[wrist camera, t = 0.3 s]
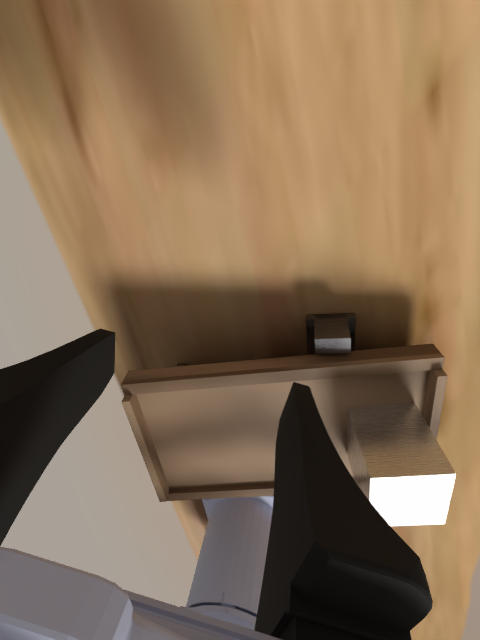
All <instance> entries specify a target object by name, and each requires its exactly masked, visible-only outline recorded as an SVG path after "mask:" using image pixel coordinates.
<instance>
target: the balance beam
mask: <svg viewBox="0 0 480 640" xmlns="http://www.w3.org/2000/svg"><path fill="white" fill-rule="evenodd" d="M443 362H444V356H443V355H442V354H441V353H440V352H439V350H438V349H437V348H436V347H435V346H434V344H424V345H413V346H402V347H390V348H379V349H368V350H357V351H351V353H323V354H312V355H301V356H290V357H279V358H268V359H256V360H245V361H234V362H223V363H212V364H200V365H189V366H178V367H167V368H156V369H145V370H133V371H128V373H127V375H126V377H125V379H124V380H123V382H122V384H121V386H122V389H123V392H124V394H125V396H124V398H123V400H122V404H123V407H124V410H125V412H126V415H127V417H128V420H129V423H130V425H131V428H132V430H133V433H134V436H135V438H136V441H137V443H138V446H139V449H140V451H141V454H142V456H143V459H144V461H145V464H146V467H147V469H148V472H149V475H150V477H151V480H152V482H153V485H154V488H155V490H156V493H157V495H158V498H159V500H160V502H163V501H175V500H196V499H216V498H237V497H257V496H274V473H275V449H276V438H277V432H278V426H279V420H280V417H281V414H282V411H283V409H284V406H285V403H286V401H287V398H288V395H289V392H290V390H291V387H292V384H293V382H296V383H299V384H303V385H307V386H309V387H310V389H311V392H312V395H313V397H314V400H315V403H316V406H317V408H318V411H319V414H320V416H321V418H322V421H323V423H324V425H325V428H326V430H327V432H328V434H329V436H330V438H331V440H332V442H333V444H334V446H335V448H336V450H337V452H338V454H339V456H340V458H341V459H342V461H343V463H344V465H345V466H346V468H347V469H348V471H349V473H350V474H351V476H352V477H353V479H354V476H353V472H352V469H351V465H350V462H349V458H348V455H347V408H351V407H365V406H379V405H392V404H406V403H415V404H416V406H417V408H418V409H419V411H420V413H421V414H422V416H423V418H424V420H425V421H426V423H427V425H428V426H429V428H430V430H431V432H432V433H433V435H434V437H435V438H436V439H437V434H438V428H439V422H440V416H441V411H442V405H443V399H444V393H445V387H446V382H447V375H446V373H445V372H444V371H443V369H442V368H443Z"/></svg>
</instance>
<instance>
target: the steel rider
mask: <svg viewBox="0 0 480 640" xmlns="http://www.w3.org/2000/svg"><path fill="white" fill-rule="evenodd" d="M347 455H348V458H349V462H350V465H351V469H352V472H353V476H354V480H355V482H356V483H357V485H358V486H359V487H360V489H361V490H362V492H363V493H364V494H365V496H366V497H367V498H368V500H369V501H370V502H371V504H372V505H373V506H374V508H375V509H376V510H377V511H378V512H379V514H380V515H381V516H382V517H383V518H384V520H385V521H386V522H387V523H388V524H389V526H410V525H436V524H445V522H446V517H447V513H448V508H449V504H450V499H451V495H452V490H453V486H454V481H455V477H456V473H455V471H454V469H453V468H452V466H451V464H450V462H449V461H448V459H447V457H446V456H445V454H444V452H443V450H442V449H441V447H440V445H439V444H438V442H437V440H436V438H435V437H434V435H433V433H432V432H431V430H430V428H429V426H428V425H427V423H426V421H425V420H424V418H423V416H422V414H421V413H420V411H419V409H418V408H417V406H416V404H415V403H406V404H392V405H379V406H365V407H351V408H347Z"/></svg>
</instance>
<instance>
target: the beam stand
mask: <svg viewBox="0 0 480 640" xmlns="http://www.w3.org/2000/svg"><path fill="white" fill-rule="evenodd" d="M306 325H307V343H308V355H312V354H323V353H351V351H355V313H341V314H317V315H306ZM178 366H186V364H178V365H177V367H178Z"/></svg>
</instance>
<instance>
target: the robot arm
mask: <svg viewBox="0 0 480 640" xmlns="http://www.w3.org/2000/svg"><path fill="white" fill-rule="evenodd" d="M114 362H115V332H111V331H107V330H104V329H99V330H96V331H94V332H91V333H89V334H87V335H85V336H83V337H81V338H78V339H76V340H75V341H72V342H70V343H67V344H65V345H63V346H61V347H59V348H56V349H54V350H52V351H49V352H47V353H44V354H42V355H39V356H37V357H34V358H32V359H30V360H27V361H24V362H21V363H18V364H15V365H12V366H9V367H7V368H3V369H0V546H1V543H2V542H3V540H4V538H5V536H6V535H7V533H8V531H9V529H10V527H11V525H12V524H13V522H14V520H15V518H16V517H17V515H18V513H19V511H20V510H21V508H22V506H23V505H24V503H25V501H26V499H27V498H28V496H29V494H30V493H31V491H32V489H33V488H34V486H35V484H36V483H37V481H38V480H39V478H40V477H41V475H42V473H43V472H44V470H45V468H46V467H47V465H48V464H49V462H50V461H51V459H52V457H53V456H54V455H55V453H56V452H57V450H58V449H59V447H60V446H61V444H62V443H63V442H64V440H65V439H66V438H67V436H68V435H69V434H70V433H71V431H72V430H73V429H74V427H75V426H76V425H77V424H78V423H79V422H80V420H81V419H82V418H83V417H84V415H85V414H86V413H87V411H88V410H89V409H90V408H91V407H92V405H93V404H94V403H95V402H96V400H97V399H98V398H99V396H100V395H101V394H102V392H103V391H104V389H105V388H106V386H107V384H108V383H109V381H110V379H111V377H112V376H113V374H114ZM202 501H203V504H204V508H205V511H206V515H207V518H208V524H207V527H206V531H205V535H204V539H203V543H202V547H201V551H200V555H199V559H198V562H197V566H196V570H195V574H194V578H193V582H192V586H191V590H190V594H189V598H188V601H187V605H186V607H182V606H181V607H177V606H174V605H171V604H168V603H165V602H161V601H158V600H155V599H152V598H149V597H145V596H142V595H139V594H136V593H133V592H130V591H127V590H123V589H122V588H120V587H119V586H118V585H117V584H115V583H114V582H111V581H109V580H107V579H105V578H102V577H100V576H98V575H95V574H92V573H88V572H85V571H82V570H79V569H76V568H72V567H69V566H66V565H63V564H60V563H57V562H53V561H50V560H47V559H44V558H40V557H37V556H34V555H31V554H28V553H24V552H21V551H18V550H15V549H9V548H4V547H0V640H411V635H410V630H411V629H412V628H413V627H415V626H416V625H417V624H418V623H419V622H420V621H422V620H423V619H424V618H425V617H426V616H427V614H428V613H429V612H430V610H431V609H432V602H433V601H432V598H431V594H430V590H429V586H428V582H427V579H426V575H425V572H424V570H423V567H422V564H421V561H420V558H419V557H418V555H417V554H416V553H415V552H414V551H413V550H412V549H411V548H410V547H409V546H408V545H407V544H406V543H405V542H404V541H403V540H402V539H401V538H400V536H399V535H398V534H397V533H396V532H395V531H394V530H393V529H392V528H391V527H390V526H389V524H388V523H387V522H386V521H385V520H384V518H383V517H382V516H381V515H380V514H379V512H378V511H377V510H376V509H375V508H374V506H373V505H372V504H371V502H370V501H369V500H368V498H367V497H366V496H365V494H364V493H363V492H362V490H361V489H360V487H359V486H358V485H357V483H356V482H355V480H354V479H353V477H352V476H351V474H350V473H349V471H348V469H347V468H346V466H345V465H344V463H343V461H342V459H341V458H340V456H339V454H338V452H337V450H336V448H335V446H334V444H333V442H332V440H331V438H330V436H329V434H328V432H327V430H326V428H325V425H324V423H323V421H322V418H321V416H320V414H319V411H318V408H317V406H316V403H315V400H314V397H313V395H312V392H311V389H310V387H309V386H307V385H303V384H299V383H296V382H293V384H292V387H291V390H290V392H289V395H288V398H287V401H286V403H285V406H284V409H283V411H282V414H281V417H280V420H279V426H278V432H277V438H276V449H275V473H274V496H257V497H237V498H216V499H202Z"/></svg>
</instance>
